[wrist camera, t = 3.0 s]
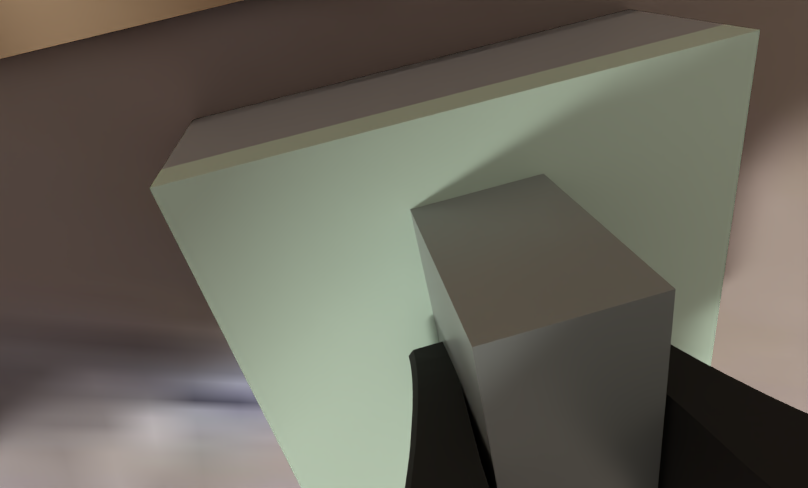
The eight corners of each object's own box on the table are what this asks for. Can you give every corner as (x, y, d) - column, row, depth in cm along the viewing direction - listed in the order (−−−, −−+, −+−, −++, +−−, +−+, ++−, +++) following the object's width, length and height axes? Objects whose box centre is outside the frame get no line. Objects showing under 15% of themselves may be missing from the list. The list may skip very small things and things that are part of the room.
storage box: (323, 425, 16) (328, 514, 14) (192, 119, 11) (161, 169, 8) (621, 338, 17) (681, 408, 14) (629, 9, 12) (724, 24, 9)
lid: (326, 487, 14) (340, 729, 10) (171, 153, 9) (53, 340, 5) (663, 387, 15) (822, 573, 10) (694, 19, 10) (1034, 72, 5)
